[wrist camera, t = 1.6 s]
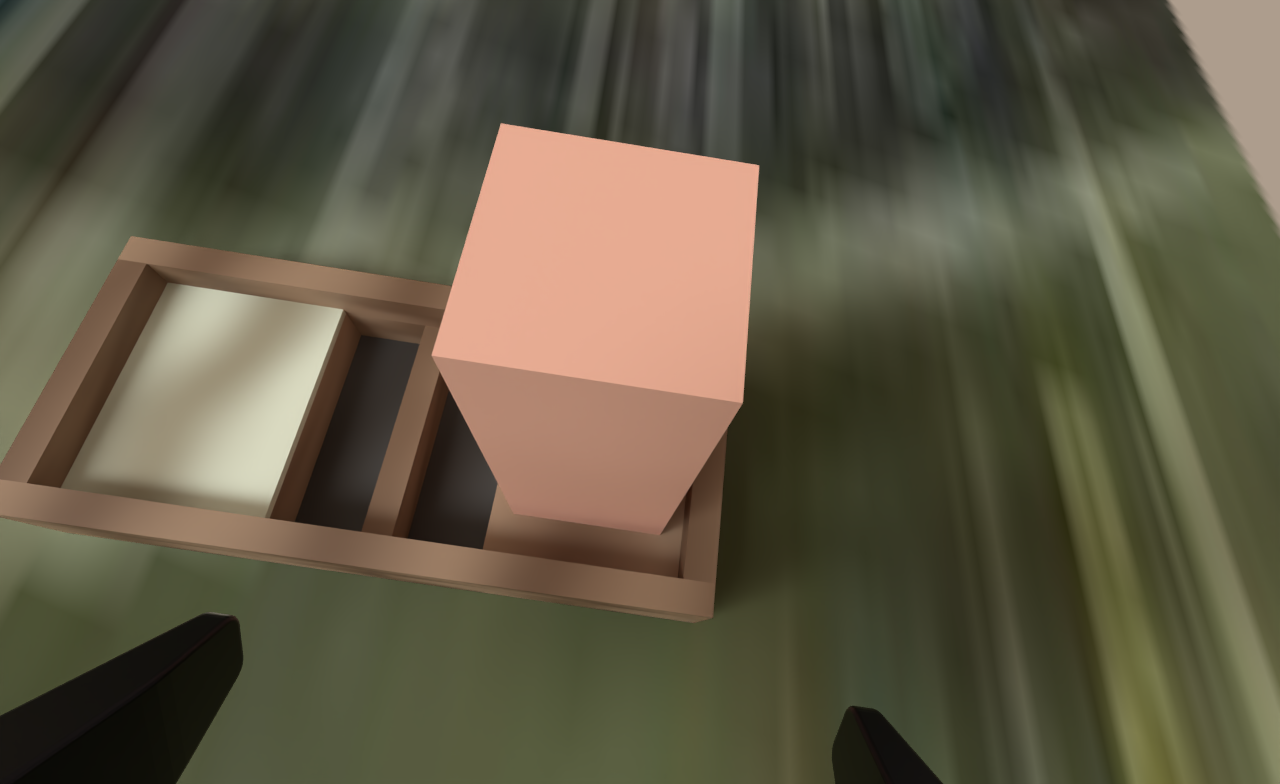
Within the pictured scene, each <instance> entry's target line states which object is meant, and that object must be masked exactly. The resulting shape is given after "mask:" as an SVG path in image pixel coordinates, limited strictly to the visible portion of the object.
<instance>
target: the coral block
mask: <svg viewBox="0 0 1280 784" xmlns="http://www.w3.org/2000/svg"><path fill="white" fill-rule="evenodd" d="M758 174H759V165H754V164H747V163H741V162H735V161H729V160H723V159H717V158H710V157H704V156H698V155H692V154H686V153H680V152H673V151H667V150H661V149H655V148H649V147H643V146H636V145H630V144H624V143H618V142H612V141H606V140H599V139H593V138H587V137H581V136H575V135H569V134H562V133H556V132H550V131H544V130H538V129H531V128H525V127H519V126H513V125H507V124H501V125H500V129H499V132H498V135H497V139H496V142H495V145H494V149H493V152H492V155H491V159H490V162H489V165H488V169H487V172H486V175H485V179H484V182H483V185H482V189H481V192H480V195H479V199H478V202H477V205H476V209H475V212H474V215H473V219H472V222H471V225H470V229H469V232H468V235H467V239H466V242H465V245H464V249H463V252H462V255H461V259H460V262H459V265H458V269H457V272H456V275H455V279H454V282H453V285H452V289H451V292H450V295H449V299H448V302H447V305H446V309H445V312H444V315H443V319H442V322H441V325H440V329H439V332H438V335H437V339H436V342H435V345H434V349H433V352H432V355H431V356H432V358H433V359H434V361H435V363H436V365H437V367H438V369H439V371H440V373H441V375H442V377H443V379H444V381H445V383H446V384H447V386H448V388H449V390H450V392H451V394H452V396H453V398H454V400H455V402H456V404H457V406H458V408H459V409H460V411H461V413H462V415H463V417H464V419H465V421H466V423H467V425H468V427H469V429H470V431H471V433H472V434H473V436H474V438H475V440H476V442H477V444H478V446H479V448H480V450H481V452H482V454H483V456H484V458H485V459H486V461H487V463H488V465H489V467H490V469H491V471H492V473H493V475H494V477H495V479H496V481H497V483H498V484H499V486H500V488H501V490H502V492H503V494H504V496H505V498H506V500H507V502H508V504H509V506H510V508H511V509H512V511H513V513H514V514H519V515H526V516H533V517H540V518H546V519H553V520H560V521H567V522H574V523H580V524H587V525H594V526H601V527H608V528H614V529H621V530H628V531H635V532H642V533H648V534H655V535H660V534H661V532H662V531H663V529H664V528H665V526H666V525H667V523H668V521H669V520H670V518H671V517H672V515H673V513H674V512H675V510H676V509H677V507H678V505H679V504H680V502H681V501H682V499H683V497H684V496H685V494H686V493H687V491H688V490H689V488H690V486H691V485H692V483H693V482H694V480H695V478H696V477H697V475H698V474H699V472H700V470H701V469H702V467H703V466H704V464H705V463H706V461H707V459H708V458H709V456H710V455H711V453H712V451H713V450H714V448H715V447H716V445H717V443H718V442H719V440H720V439H721V437H722V436H723V434H724V432H725V431H726V429H727V428H728V426H729V424H730V423H731V421H732V420H733V418H734V416H735V415H736V413H737V412H738V410H739V409H740V407H741V405H742V404H743V394H744V380H745V365H746V350H747V335H748V321H749V306H750V291H751V277H752V262H753V247H754V232H755V218H756V203H757V188H758Z"/></svg>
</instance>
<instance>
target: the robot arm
mask: <svg viewBox="0 0 1280 784" xmlns="http://www.w3.org/2000/svg"><path fill="white" fill-rule="evenodd" d="M242 665H243V650H242V641H241V633H240V624H239V620H238V619H237V618H236V617H235V616H233V615H227V614H220V613H213V612H207V613H203V614H201V615H199V616H197V617H195V618H193V619H191V620H189V621H187V622H185V623H183V624H181V625H179V626H177V627H175V628H173V629H171V630H169V631H167V632H165V633H163V634H161V635H159V636H157V637H155V638H153V639H151V640H149V641H147V642H145V643H143V644H141V645H139V646H137V647H135V648H133V649H131V650H129V651H127V652H125V653H123V654H121V655H119V656H117V657H115V658H113V659H112V660H110V661H108V662H106V663H104V664H102V665H100V666H98V667H96V668H94V669H92V670H90V671H88V672H86V673H84V674H82V675H80V676H78V677H76V678H74V679H72V680H70V681H68V682H66V683H64V684H62V685H60V686H58V687H56V688H54V689H52V690H50V691H48V692H46V693H44V694H42V695H40V696H38V697H36V698H34V699H32V700H30V701H28V702H26V703H24V704H22V705H20V706H18V707H16V708H15V709H13V710H11V711H9V712H7V713H5V714H3V715H1V716H0V784H176V783H177V781H178V779H179V778H180V776H181V774H182V773H183V771H184V769H185V768H186V766H187V764H188V763H189V761H190V759H191V758H192V756H193V754H194V752H195V751H196V749H197V747H198V745H199V744H200V742H201V740H202V738H203V737H204V735H205V733H206V731H207V730H208V728H209V726H210V724H211V723H212V721H213V719H214V718H215V716H216V714H217V712H218V711H219V709H220V707H221V705H222V704H223V702H224V700H225V698H226V697H227V695H228V693H229V691H230V690H231V688H232V686H233V684H234V683H235V681H236V679H237V677H238V675H239V673H240V671H241V668H242ZM832 763H833V771H834V778H835V784H943V783H942V782H941V781H940V780H939V778H938V777H937V776H936V775H935V774H934V773H933V772H932V771H931V769H930V768H929V767H928V766H927V765H926V764H925V763H924V761H923V760H922V759H921V758H920V757H919V756H918V755H917V754H916V752H915V751H914V750H913V749H912V748H911V747H910V746H909V744H908V743H907V742H906V741H905V740H904V739H903V738H902V737H901V735H900V734H899V733H898V732H897V731H896V730H895V729H894V727H893V726H892V725H891V724H890V723H889V722H888V721H887V720H886V718H885V717H884V716H883V715H882V714H881V713H880V712H879V711H877V710H875V709H872V708H865V707H858V706H850V707H849V708H848V709H847V710H846V712H845V714H844V717H843V719H842V722H841V725H840V727H839V730H838V732H837V735H836V738H835V740H834V743H833V748H832Z"/></svg>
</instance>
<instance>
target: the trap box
mask: <svg viewBox="0 0 1280 784" xmlns="http://www.w3.org/2000/svg"><path fill="white" fill-rule="evenodd" d="M451 289H452V286H448V285H441V284H435V283H429V282H422V281H416V280H409V279H403V278H396V277H390V276H384V275H377V274H371V273H364V272H358V271H351V270H345V269H339V268H332V267H326V266H319V265H313V264H306V263H300V262H294V261H287V260H281V259H274V258H268V257H261V256H255V255H249V254H242V253H236V252H229V251H223V250H216V249H210V248H204V247H197V246H191V245H184V244H178V243H171V242H165V241H159V240H152V239H146V238H139V237H133V236H131V237H130V239H129V241H128V242H127V244H126V246H125V248H124V249H123V251H122V253H121V255H120V256H119V258H118V260H117V262H116V263H115V265H114V267H113V269H112V270H111V272H110V274H109V276H108V277H107V279H106V281H105V283H104V284H103V286H102V288H101V290H100V291H99V293H98V295H97V297H96V298H95V300H94V302H93V304H92V305H91V307H90V309H89V311H88V312H87V314H86V316H85V318H84V319H83V321H82V323H81V325H80V326H79V328H78V330H77V332H76V333H75V335H74V337H73V339H72V340H71V342H70V344H69V346H68V347H67V349H66V351H65V353H64V354H63V356H62V358H61V360H60V361H59V363H58V365H57V367H56V368H55V370H54V372H53V374H52V375H51V377H50V379H49V381H48V382H47V384H46V386H45V388H44V389H43V391H42V393H41V395H40V396H39V398H38V400H37V402H36V403H35V405H34V407H33V409H32V410H31V412H30V414H29V416H28V417H27V419H26V421H25V423H24V424H23V426H22V428H21V430H20V431H19V433H18V435H17V437H16V438H15V440H14V442H13V444H12V445H11V447H10V449H9V451H8V452H7V454H6V456H5V458H4V459H3V461H2V463H1V465H0V517H2V518H6V519H10V520H15V521H19V522H23V523H28V524H32V525H36V526H41V527H45V528H49V529H54V530H58V531H62V532H67V533H73V534H80V535H87V536H94V537H101V538H108V539H115V540H122V541H129V542H136V543H143V544H150V545H157V546H164V547H170V548H177V549H184V550H191V551H198V552H205V553H212V554H219V555H226V556H233V557H240V558H247V559H254V560H261V561H268V562H275V563H282V564H288V565H295V566H302V567H309V568H316V569H323V570H330V571H337V572H344V573H351V574H358V575H365V576H372V577H379V578H386V579H393V580H400V581H406V582H413V583H420V584H427V585H434V586H441V587H448V588H455V589H462V590H469V591H476V592H483V593H490V594H497V595H504V596H511V597H518V598H524V599H531V600H538V601H545V602H552V603H559V604H566V605H573V606H580V607H587V608H594V609H601V610H608V611H615V612H622V613H629V614H636V615H642V616H649V617H656V618H663V619H670V620H677V621H684V622H691V623H696V622H699V621H703V620H707V619H710V618H713V610H714V597H715V584H716V572H717V559H718V546H719V533H720V520H721V507H722V494H723V481H724V468H725V455H726V442H727V430H728V428H727V429H726V431H725V432H724V434H723V436H722V437H721V439H720V440H719V442H718V443H717V445H716V447H715V448H714V450H713V451H712V453H711V455H710V456H709V458H708V459H707V461H706V463H705V464H704V466H703V467H702V469H701V470H700V472H699V474H698V475H697V477H696V478H695V480H694V482H693V483H692V485H691V486H690V488H689V490H688V491H687V493H686V494H685V496H684V497H683V499H682V501H681V502H680V504H679V505H678V507H677V509H676V510H675V512H674V513H673V515H672V517H671V518H670V520H669V521H668V523H667V525H666V526H665V528H664V529H663V531H662V532H661V534H660V535H655V534H648V533H642V532H635V531H628V530H621V529H614V528H608V527H601V526H594V525H587V524H580V523H574V522H567V521H560V520H553V519H546V518H540V517H533V516H526V515H519V514H514V513H513V511H512V509H511V508H510V506H509V504H508V502H507V500H506V498H505V496H504V494H503V492H502V490H501V488H500V486H499V484H498V483H497V481H496V479H495V477H494V475H493V473H492V471H491V469H490V467H489V465H488V463H487V461H486V459H485V458H484V456H483V454H482V452H481V450H480V448H479V446H478V444H477V442H476V440H475V438H474V436H473V434H472V433H471V431H470V429H469V427H468V425H467V423H466V421H465V419H464V417H463V415H462V413H461V411H460V409H459V408H458V406H457V404H456V402H455V400H454V398H453V396H452V394H451V392H450V390H449V388H448V386H447V384H446V383H445V381H444V379H443V377H442V375H441V373H440V371H439V369H438V367H437V365H436V363H435V361H434V359H433V358H432V356H431V355H432V352H433V349H434V345H435V342H436V339H437V335H438V332H439V329H440V325H441V322H442V319H443V315H444V312H445V309H446V305H447V302H448V299H449V295H450V292H451Z"/></svg>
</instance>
